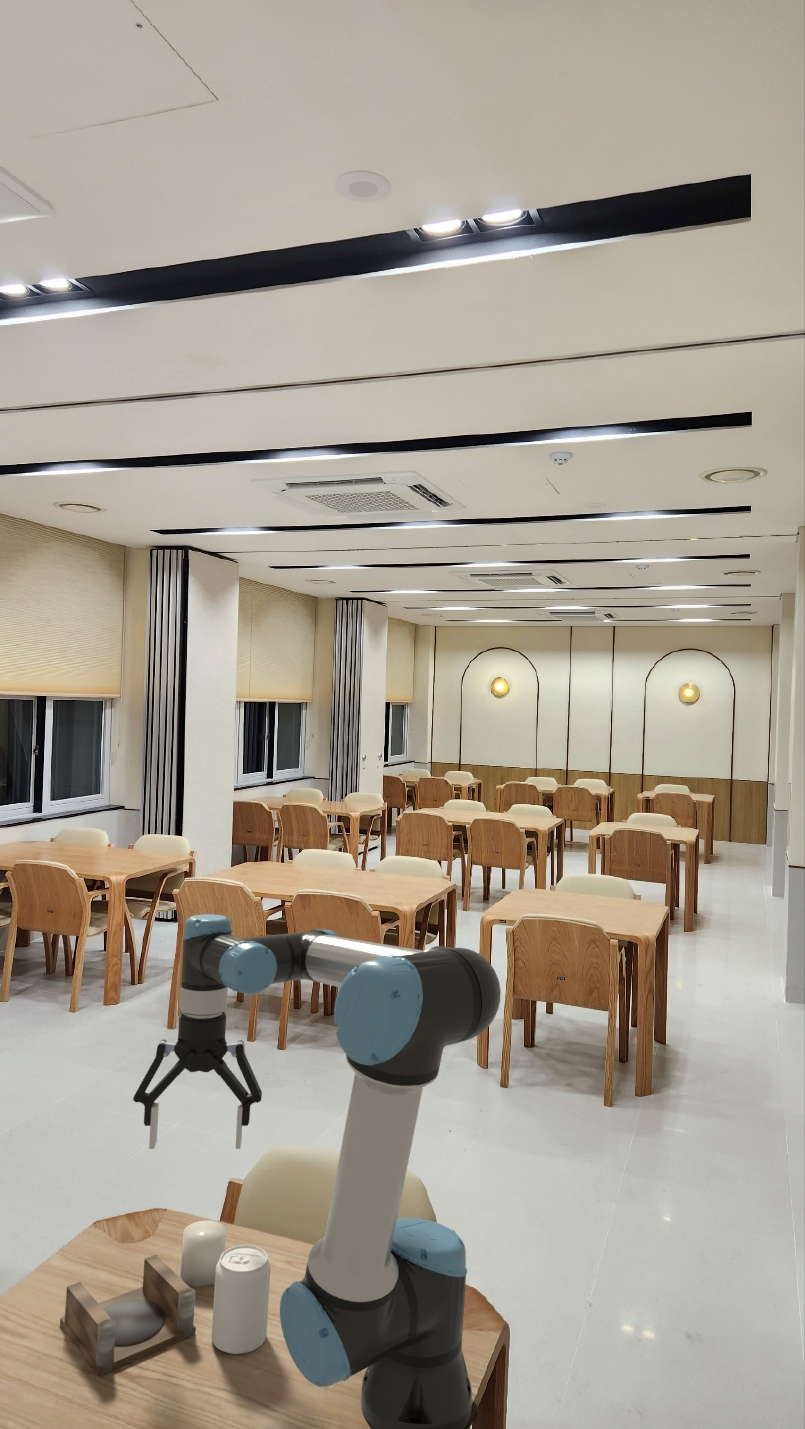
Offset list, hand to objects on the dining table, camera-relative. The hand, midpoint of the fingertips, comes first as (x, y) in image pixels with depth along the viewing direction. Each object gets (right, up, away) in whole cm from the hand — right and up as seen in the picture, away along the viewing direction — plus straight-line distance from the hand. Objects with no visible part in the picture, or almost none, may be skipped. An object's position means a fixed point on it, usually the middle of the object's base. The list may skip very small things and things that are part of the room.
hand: (195, 1145), depth 146 cm
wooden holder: (-8, -23, -10) cm, 26 cm away
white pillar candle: (0, -24, +5) cm, 24 cm away
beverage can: (+9, -24, -11) cm, 28 cm away
